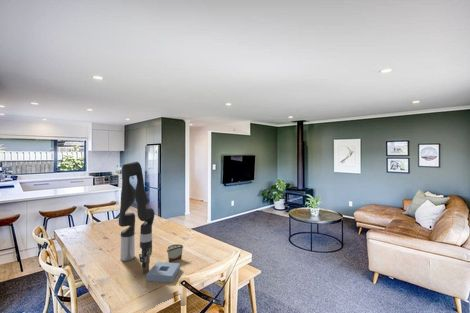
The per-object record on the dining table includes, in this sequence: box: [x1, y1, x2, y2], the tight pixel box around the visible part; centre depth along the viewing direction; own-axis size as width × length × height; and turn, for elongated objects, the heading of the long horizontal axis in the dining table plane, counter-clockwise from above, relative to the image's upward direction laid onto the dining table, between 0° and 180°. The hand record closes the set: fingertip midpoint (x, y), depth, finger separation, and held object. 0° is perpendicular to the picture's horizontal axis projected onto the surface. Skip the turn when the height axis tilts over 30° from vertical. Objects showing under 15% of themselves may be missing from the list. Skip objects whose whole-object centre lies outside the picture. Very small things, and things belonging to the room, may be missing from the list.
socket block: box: [145, 261, 181, 283], centre depth 148 cm, size 16×16×4 cm
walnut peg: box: [141, 253, 150, 275], centre depth 151 cm, size 4×4×12 cm
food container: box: [166, 243, 184, 263], centre depth 169 cm, size 12×6×10 cm, turn 131°
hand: (145, 265), depth 151 cm, fingers open, 5 cm apart
